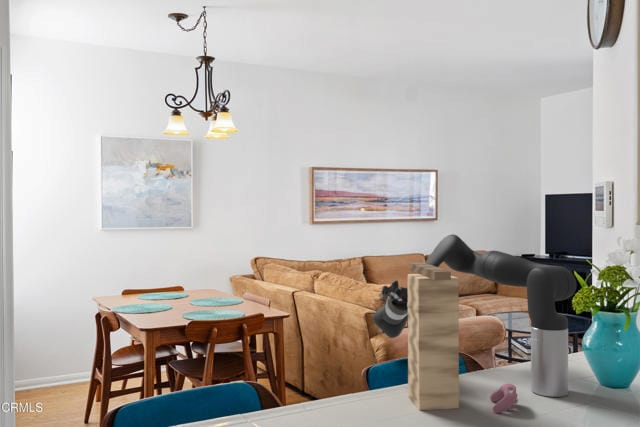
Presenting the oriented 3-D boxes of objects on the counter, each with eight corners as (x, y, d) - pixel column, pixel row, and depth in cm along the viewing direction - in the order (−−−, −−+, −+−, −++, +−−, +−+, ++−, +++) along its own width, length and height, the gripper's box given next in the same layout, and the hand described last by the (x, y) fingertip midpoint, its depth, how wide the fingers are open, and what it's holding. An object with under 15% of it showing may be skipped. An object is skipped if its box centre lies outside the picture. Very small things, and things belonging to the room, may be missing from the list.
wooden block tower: (407, 397, 157) (407, 274, 157) (445, 395, 159) (445, 273, 158) (419, 410, 147) (418, 278, 147) (459, 408, 149) (458, 277, 148)
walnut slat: (409, 270, 166) (409, 262, 166) (423, 269, 167) (423, 262, 167) (434, 280, 144) (434, 271, 144) (450, 279, 145) (450, 271, 145)
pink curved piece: (509, 421, 144) (523, 395, 143) (491, 411, 145) (505, 386, 144) (505, 407, 154) (517, 383, 153) (488, 398, 154) (501, 374, 154)
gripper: (375, 293, 186) (385, 271, 172) (420, 291, 188) (434, 270, 174) (377, 316, 183) (388, 296, 169) (423, 314, 184) (438, 294, 170)
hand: (411, 283), depth 171 cm, fingers open, 8 cm apart
